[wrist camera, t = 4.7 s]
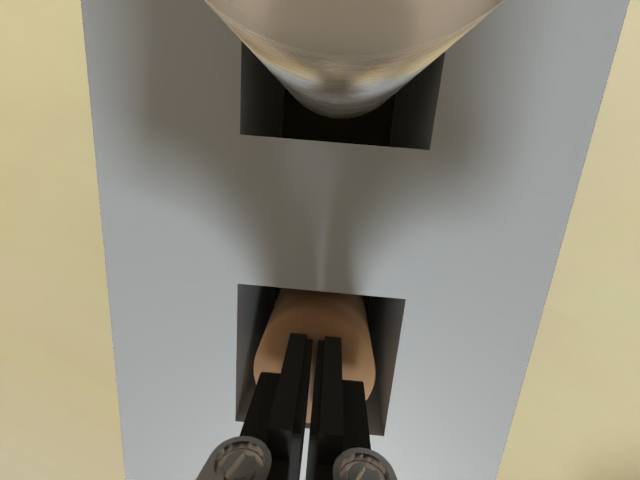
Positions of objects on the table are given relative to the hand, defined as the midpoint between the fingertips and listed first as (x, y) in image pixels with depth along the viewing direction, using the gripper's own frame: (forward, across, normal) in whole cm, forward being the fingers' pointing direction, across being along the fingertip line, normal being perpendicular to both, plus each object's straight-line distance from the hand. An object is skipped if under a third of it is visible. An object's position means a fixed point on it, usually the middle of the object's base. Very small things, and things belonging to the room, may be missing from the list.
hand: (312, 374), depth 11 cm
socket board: (+9, 0, -5) cm, 10 cm away
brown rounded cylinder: (+8, 0, 0) cm, 8 cm away
